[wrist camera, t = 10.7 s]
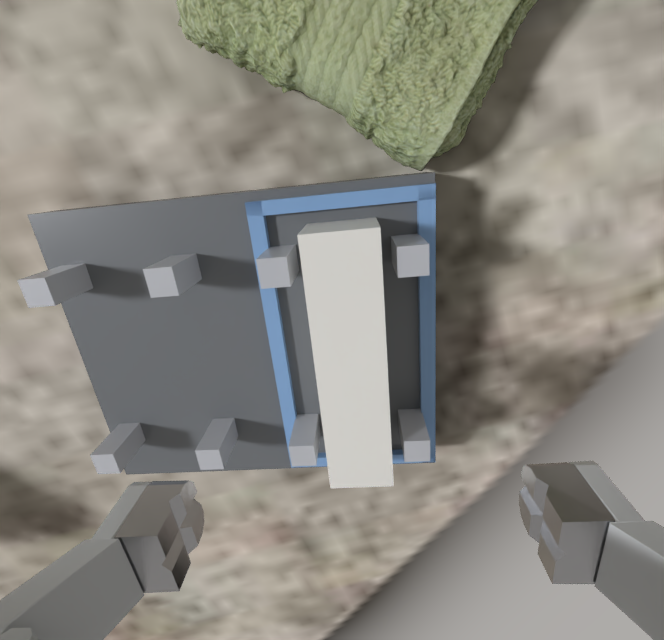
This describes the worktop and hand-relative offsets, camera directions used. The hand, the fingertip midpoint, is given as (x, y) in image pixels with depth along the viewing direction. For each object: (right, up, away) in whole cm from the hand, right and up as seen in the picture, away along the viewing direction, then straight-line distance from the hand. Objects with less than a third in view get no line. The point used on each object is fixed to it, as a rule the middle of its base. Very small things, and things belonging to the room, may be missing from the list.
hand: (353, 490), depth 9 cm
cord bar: (0, +3, +9) cm, 10 cm away
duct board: (-4, +3, +11) cm, 13 cm away
